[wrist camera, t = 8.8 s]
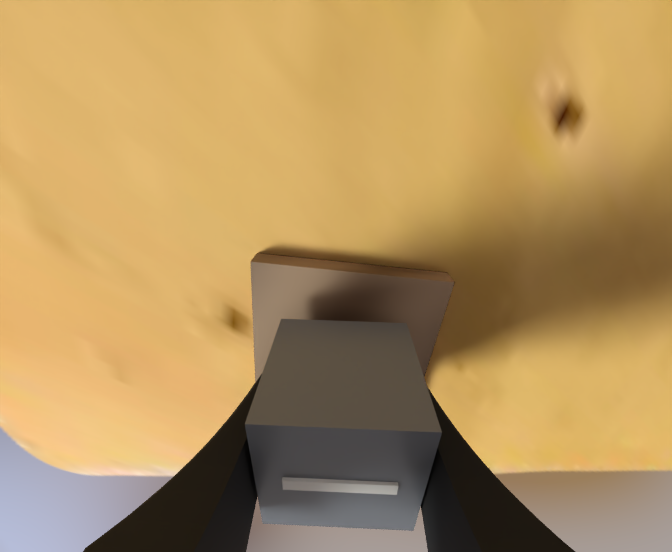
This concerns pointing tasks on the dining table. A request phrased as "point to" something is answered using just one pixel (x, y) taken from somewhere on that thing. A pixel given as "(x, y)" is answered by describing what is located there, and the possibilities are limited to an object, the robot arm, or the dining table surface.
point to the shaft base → (345, 298)
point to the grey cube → (342, 426)
